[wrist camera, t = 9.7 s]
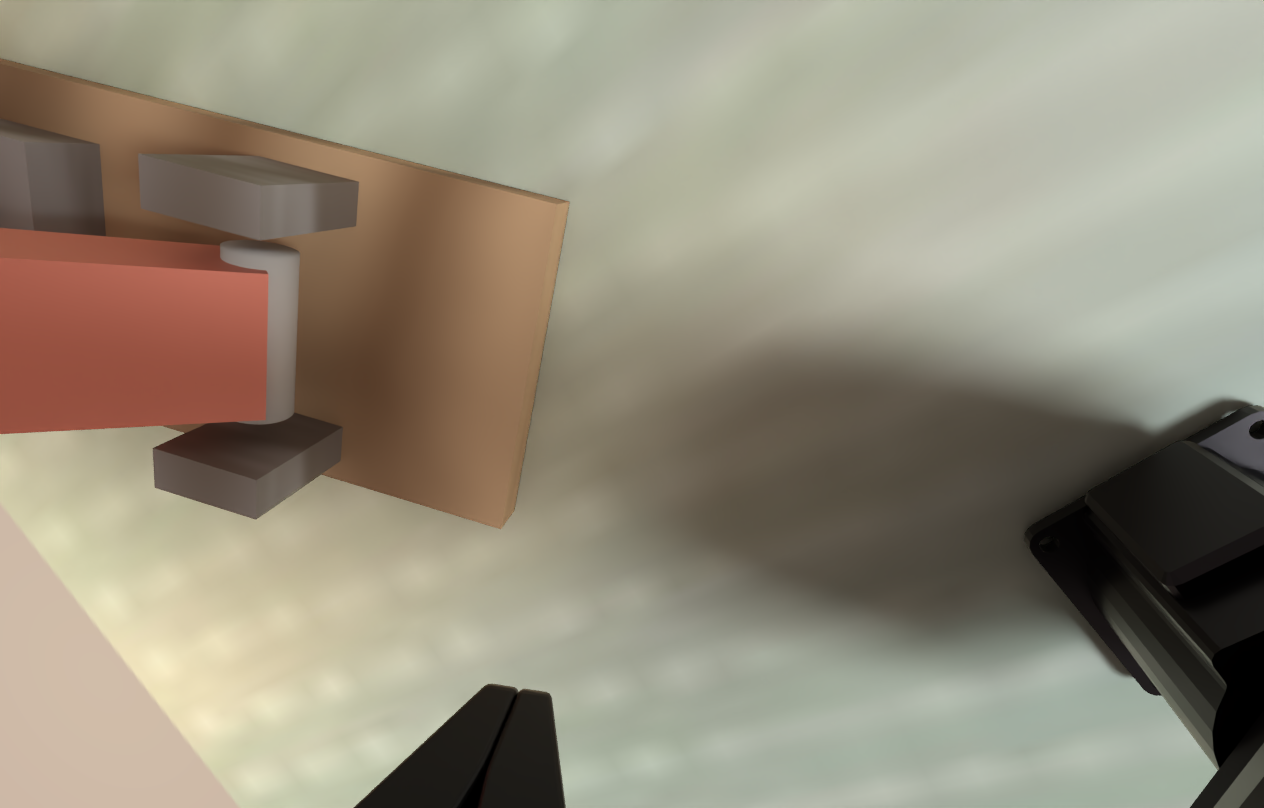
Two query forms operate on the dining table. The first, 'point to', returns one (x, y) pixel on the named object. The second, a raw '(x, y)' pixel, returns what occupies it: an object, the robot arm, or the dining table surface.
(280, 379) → the lever
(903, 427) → the dining table surface
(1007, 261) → the dining table surface
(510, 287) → the base
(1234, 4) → the dining table surface
